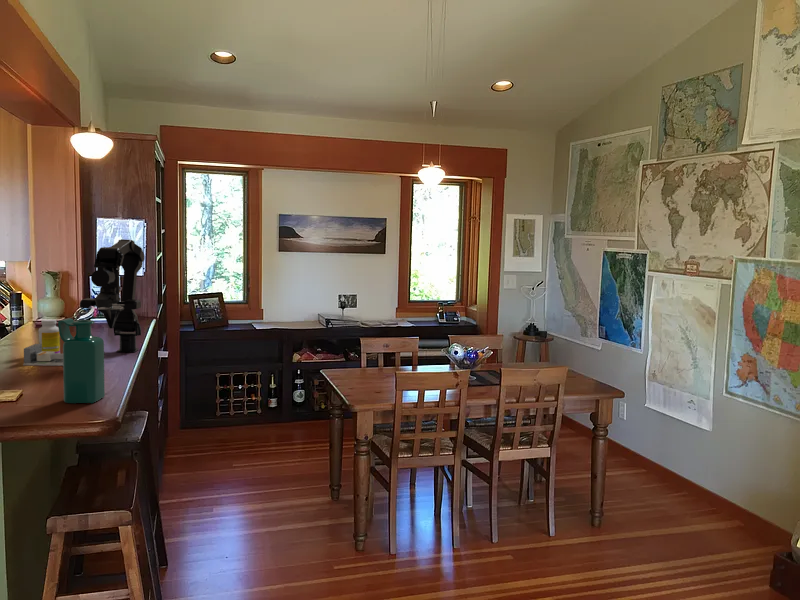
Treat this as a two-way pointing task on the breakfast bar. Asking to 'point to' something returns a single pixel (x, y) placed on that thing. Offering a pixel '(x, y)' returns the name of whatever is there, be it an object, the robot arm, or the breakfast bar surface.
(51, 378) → the breakfast bar surface
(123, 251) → the robot arm
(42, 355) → the thick grey end plate
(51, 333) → the supplement bottle
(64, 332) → the pitcher
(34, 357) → the track
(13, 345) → the breakfast bar surface
